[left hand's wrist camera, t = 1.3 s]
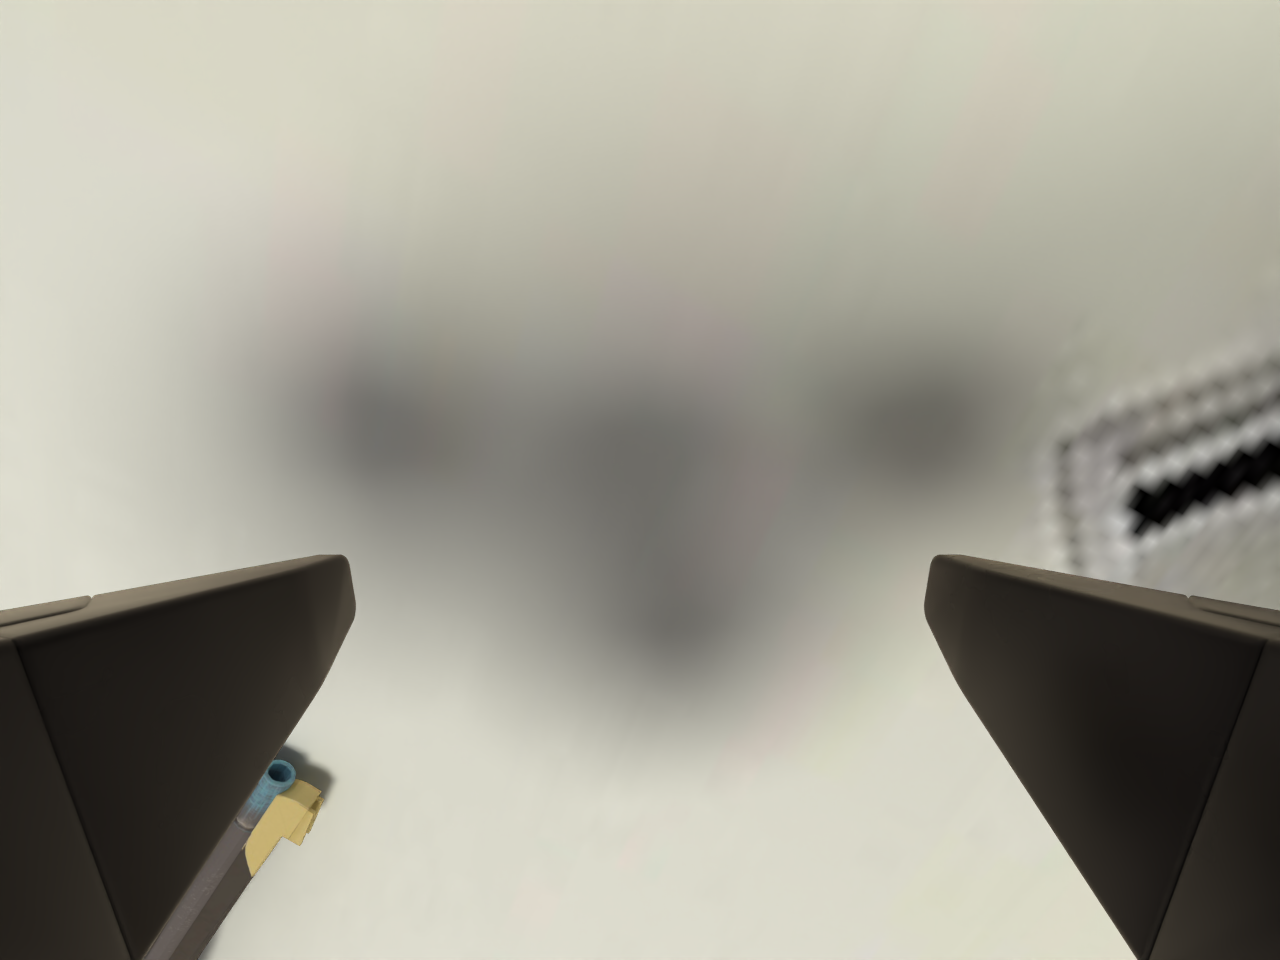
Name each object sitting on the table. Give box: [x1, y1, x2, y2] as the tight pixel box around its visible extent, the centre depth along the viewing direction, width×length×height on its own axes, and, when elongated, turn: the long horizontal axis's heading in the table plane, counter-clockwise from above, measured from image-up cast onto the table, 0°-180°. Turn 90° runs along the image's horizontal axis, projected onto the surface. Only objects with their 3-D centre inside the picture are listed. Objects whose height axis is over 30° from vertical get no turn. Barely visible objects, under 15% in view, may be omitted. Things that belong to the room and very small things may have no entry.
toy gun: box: [143, 760, 324, 960], centre depth 24 cm, size 3×19×10 cm
